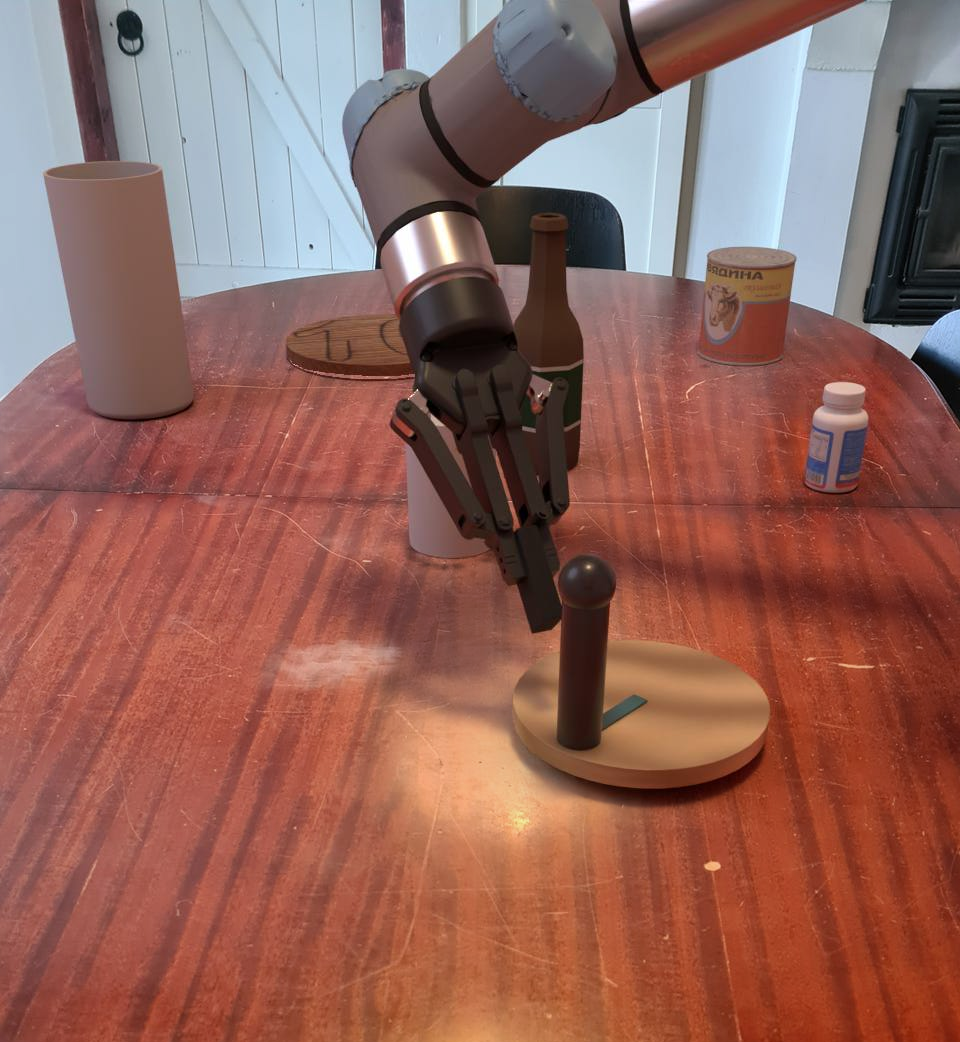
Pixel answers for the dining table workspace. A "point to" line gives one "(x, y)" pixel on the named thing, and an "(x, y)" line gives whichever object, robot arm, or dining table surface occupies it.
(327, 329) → the trivet
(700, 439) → the dining table surface
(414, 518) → the white cylinder
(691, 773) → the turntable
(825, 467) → the pill bottle
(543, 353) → the beer bottle
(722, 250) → the canned food
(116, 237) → the cylinder vase
